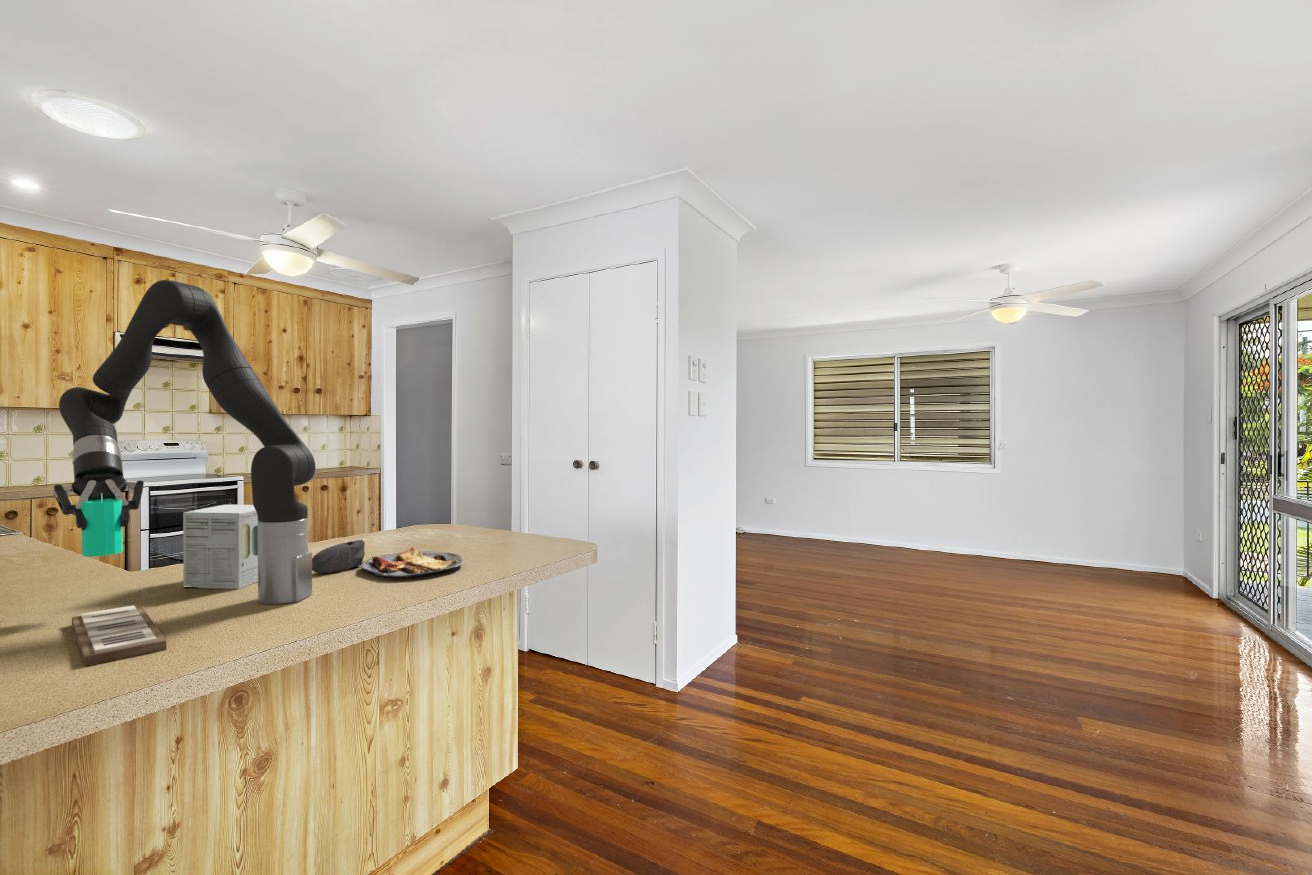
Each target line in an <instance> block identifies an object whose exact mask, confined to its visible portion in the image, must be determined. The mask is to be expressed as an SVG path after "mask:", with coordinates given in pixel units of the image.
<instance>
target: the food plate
mask: <svg viewBox="0 0 1312 875" xmlns="http://www.w3.org/2000/svg"><path fill="white" fill-rule="evenodd" d="M464 562H465V558H463V557H462V555H459V554H456V553H451V552H444V551H442V552H441V551H430V550H429V551H428V550H427V551H418V550H417V549H415V547H411V548H409V549H406V550H405V551H403V552H397V553H396V552H395V553H391V554H382V555H379V556H376V555H375V556H372V557H371V558H368V559H366V560H363V562H362V564H361V565H360V566H359V568H360V569H363V570H366V571H368V572H370V573H374V574H375V576H380V577H381V576H382V577H390V578H391V577H394V578H395V577H396V578H397V577H399V578H405V577H406V578H408V577H409V578H412V577H423V576H427V575H433V574H436V573H437V574H438V573H441V572H444V571H447V570H451V569H453V568H457V567H459V566H461V564H463V563H464Z"/></svg>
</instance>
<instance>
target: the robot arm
mask: <svg viewBox="0 0 1312 875" xmlns="http://www.w3.org/2000/svg"><path fill="white" fill-rule="evenodd" d="M168 325H174V326H181V327H186V328H187V329H188V330H189V331H190V333H192V335H193V336H194V338H195V340H196V341H197V342H198V345H199V346H200V347H201V350H202V356H203V358H202V378H203V380H204V383H205V385H206V387H207V389H208V390H209V392H210V393H211V395H212V396H213V398H214V399H215V401H216V403H217V404H218V406H219V407H221V409H222V410H223V411H224V412H226V413H227V415H228V416H230V417H231V418H233V419H234V420H235V421H236V422H238V423H239V424H241V425H242V426H244V427H245V428H246V429H247V430H249V432H251V433H252V434H253V435H254V436H255V437H256V438H257V439H258V440H259V441H260V443H261V444H262V446H263V447H262V448H260V449H259V450H257V451H256V453H255V454H254V456H253V458H252V461H251V465H250V467H251V468H250V481H251V494H252V505H254V508H255V510H256V512H257V517H258V582H257V598H258V599H257V602H258V603H259V604H263V605H281V604H288V603H298V602H300V601H302V600H304V599H306V598H308V597H310V596H311V595H312V594H313V570H312V558H313V551H309V548H308V546H309V543H308V541H309V537H308V536H309V534H308V533H309V532H308V530H309V528H308V526H309V525H308V524H309V523H308V520H309V517H308V516H309V514H308V506H307V505H306V504H305V503H302V502H300V501H299V500H298V499H297V498H296V494H295V487H297V486H302V485H305V484H306V483H308V482H310V481H311V480H312V479H313V478H314V476H315V473H316V461H315V458H314V455H313V454H312V452H311V451H310V449H309V448H308V446H307V444H305V443H304V442H303V440H302V439H301V438H300V436H299V435H298V434H297V433H296V431H294V429H293V428H292V427H291V425H290V424H289V423H288V421H287V419H285V417H284V415H283V414H282V413H281V411H280V410H279V408H278V407H277V405H276V403H275V402H274V400H273V399H272V397H271V395H269V392H267V389H266V388H265V386H264V384H263V383H262V381H261V379H260V378H259V376H258V375H257V373H256V372H255V370H254V368H253V367H252V366H251V364H250V363H249V362H248V360H247V359H246V357H245V356H244V354H243V352H242V350H241V349H240V347H239V346H238V344H237V342H236V341H235V338H234V337H233V335H232V334H231V332H230V330H229V329H228V326H227V324H226V322H225V320H224V318H223V316H222V314H221V312H220V309H219V307H218V306H217V304H216V302H215V300H214V299H213V297H212V296H211V295H210V294H209V292H207V291H206V290H205V289H203V288H201V287H200V286H197V285H193V284H189V283H185V282H179V281H175V280H171V279H161V280H157V281H156V282H154V283H153V284H152V285H150V286H149V287H148V289H147V290H146V292H145V293H144V294H143V297H142V298H141V299H140V302H139V304H138V306H137V308H136V309H135V311H134V313H133V315H132V317H131V319H130V321H129V323H128V324H127V327H126V329H125V332H124V333H123V335H122V337H121V339H120V340H119V342H118V344H117V345H116V346H115V348H114V349H113V350H112V352H111V353H110V355H109V356H108V357H107V358H106V359H105V360H104V361H103V363H102V364H101V365H100V366H99V367H98V369H97V370H96V371H95V372H94V374H93V375H92V381H93V384H94V385H95V387H96V388H98V389H99V390H101V391H103V392H100V391H96V390H93V389H89V388H86V387H79V386H77V387H75V386H74V387H70V388H69V389H66V391H64V392H63V393H62V395H61V396H60V398H59V402H58V408H59V413H60V415H61V418H62V419H63V421H64V423H65V425H66V426H67V428H68V429H69V432H71V434H72V445H73V450H72V463H71V464H72V465H73V482H72V483H71V485H66V486H65V485H64V486H63V485H62V484H55V485H54V486H53V496H54V498H55V501H56V503H57V505H58V507H59V508H60V511H61V513H62V515H65V516H68V515H74V516H75V527H76V528H78V529H81V530H80V531H82V530H85V529H86V528H87V521H86V518H85V517H84V515H83V512H82V510H81V503H83V502H88V501H93V500H101V493H102V500H103V499H114V500H122V509H121V514H120V520H121V527H122V528H124V527H126V525H128V524H129V523H130V517H131V516H130V511H131V510H133V511H136V510H138V509H139V507H140V504H141V499H142V495H143V492H144V485H145V482H144V481H143V480H137V481H136V482H132V481H131V482H129V481H128V480H126V478H125V477H124V476H125V475H124V469H123V463H122V453H121V449H120V446H119V443H118V434H117V428H116V427H115V425H114V424H116V423H117V422H119V420H121V418H122V417H123V414H124V410H125V407H126V404H127V402H128V399H129V397H130V395H131V393H132V391H133V389H135V387H136V386H137V384H138V383H139V382H140V381H141V380H142V379H143V378H144V377H145V375H146V374H147V373H148V371H149V369H150V367H151V365H152V359H153V344H154V342H155V341H154V340H155V339H156V337H157V335H159V333H161V331H162V330H164V329H165V328H166V327H167V326H168ZM127 489H128V490H129V492H130V493H131V494H133V495H132V498H131V500H127V499H126V498H125V496H124V494H123V493H124V491H126V490H127ZM72 492H73V493H74V494H75V495H77V496H78V497H79V500H78V501H77V503H76V504H72V503H71V501H70V499H69V497H70V494H71V493H72Z"/></svg>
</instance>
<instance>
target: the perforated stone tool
mask: <svg viewBox="0 0 1312 875" xmlns="http://www.w3.org/2000/svg"><path fill="white" fill-rule="evenodd" d="M365 554H366V552H365V541H364V540H363V539H356V540H352V541H347V542H341V543H338V544H335V545H332V546H329V547H327V548H324V549H322V550H321V551H319V552H317V553H316V554H315V555H313V556H312V572H314V573H316V574H319V575H321V574H325V575H326V574H329V573H337V572H338V573H339V572H343V571H348V570H350V569H352V568H356V567H357V568H358V567H361V564H362V562H364V557H365Z"/></svg>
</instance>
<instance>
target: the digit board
mask: <svg viewBox="0 0 1312 875" xmlns="http://www.w3.org/2000/svg"><path fill="white" fill-rule="evenodd" d="M71 627H72V630H73V629H74V630H73V634H74V636H75V639H76V642H77V645H78V649H79V648H80V649H79V651H81V652H80V654H82V655H81V658H82V657H83V658H82V661H83V660H84V661H83V663H85V664H84V666H85V667H88V666H87V665H90V666H92V665H91V664H94V665H97V664H96V663H99V664H102V663H103V664H104V663H108V662H112V661H118V660H122V659H127V658H132V657H136V656H142V655H145V654H146V655H147V654H150V653H156V652H160V651H165V650H168V649H167V639H166V638H165V636H164V635H163V633H162V632H161V631H160V629H159V628H158V626H157V625H156V624H155V622H154V621H153V619H152V618H151V617H150V615H149V614H148V613H147V611H146V610H145V609H144V607H143V605H139V606H138V605H137V606H135V605H128V606H121V607H114V608H108V609H103V610H97V611H96V610H95V611H90V612H84V613H80V615H77V616H72V617H71ZM117 659H118V660H117Z"/></svg>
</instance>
